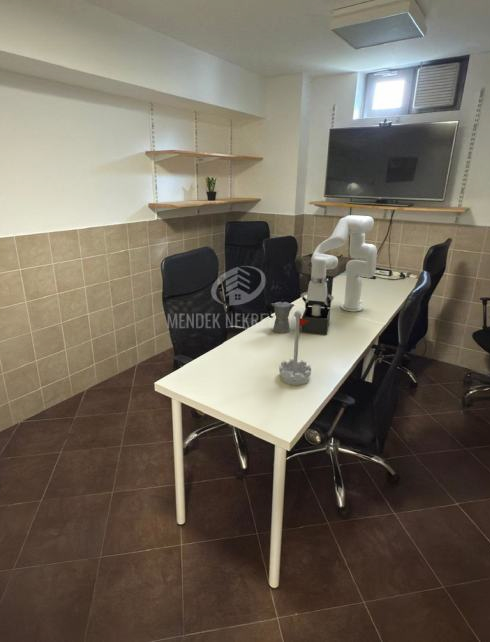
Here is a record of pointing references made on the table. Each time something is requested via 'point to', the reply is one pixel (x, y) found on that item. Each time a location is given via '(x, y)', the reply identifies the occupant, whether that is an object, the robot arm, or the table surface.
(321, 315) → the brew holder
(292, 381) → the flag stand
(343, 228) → the robot arm
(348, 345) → the table surface
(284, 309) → the coffeepot
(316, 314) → the cylinder
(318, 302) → the lid
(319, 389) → the table surface
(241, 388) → the table surface
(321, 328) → the coffee maker
